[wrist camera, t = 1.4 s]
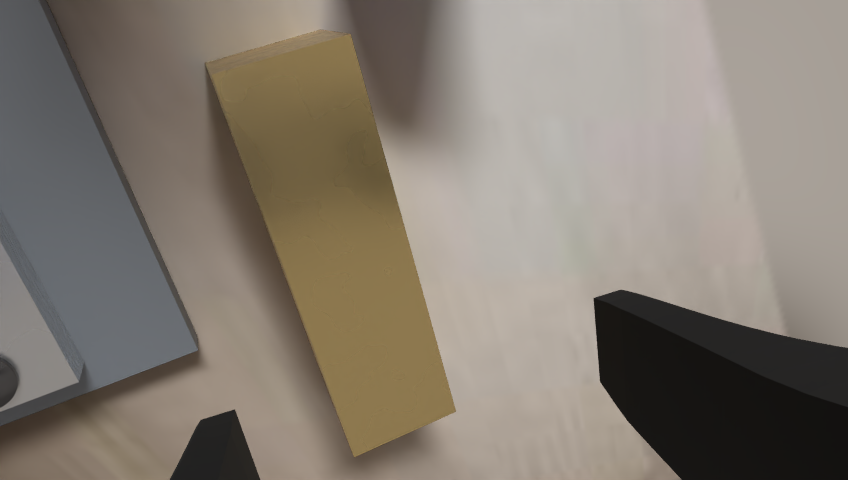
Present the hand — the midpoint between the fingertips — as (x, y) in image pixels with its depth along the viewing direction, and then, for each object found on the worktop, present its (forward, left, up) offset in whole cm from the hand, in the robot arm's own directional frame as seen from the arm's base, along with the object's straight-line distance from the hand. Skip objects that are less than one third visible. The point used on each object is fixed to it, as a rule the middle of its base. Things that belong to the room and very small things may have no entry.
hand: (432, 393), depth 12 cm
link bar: (0, 0, -10) cm, 10 cm away
